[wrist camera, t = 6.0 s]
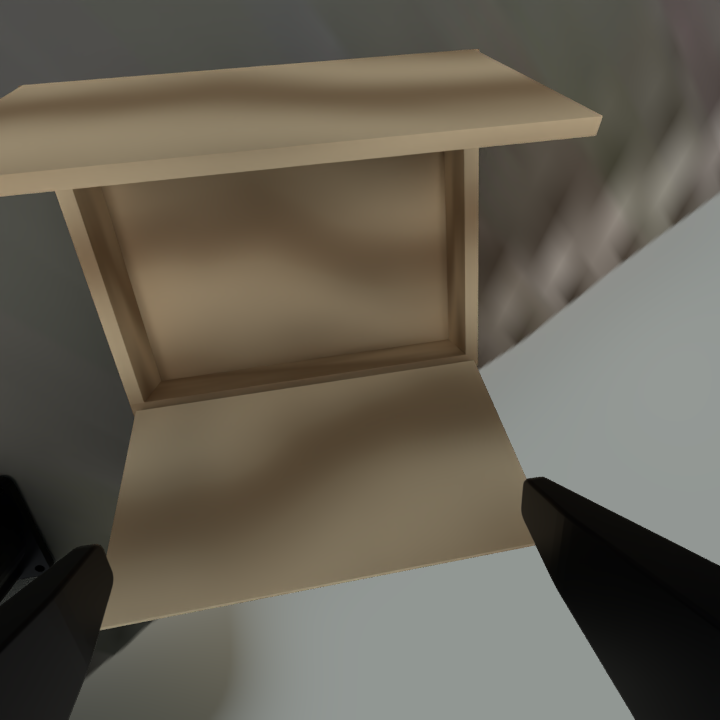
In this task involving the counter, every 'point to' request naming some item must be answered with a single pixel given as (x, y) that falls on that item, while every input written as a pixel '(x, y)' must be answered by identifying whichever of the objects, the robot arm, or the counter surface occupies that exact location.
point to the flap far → (310, 490)
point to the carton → (282, 274)
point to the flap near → (271, 119)
